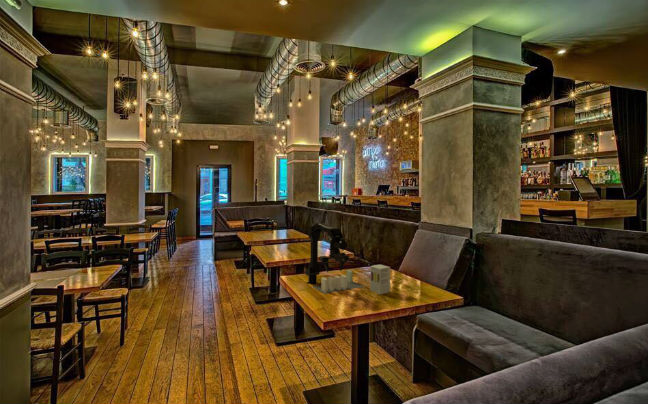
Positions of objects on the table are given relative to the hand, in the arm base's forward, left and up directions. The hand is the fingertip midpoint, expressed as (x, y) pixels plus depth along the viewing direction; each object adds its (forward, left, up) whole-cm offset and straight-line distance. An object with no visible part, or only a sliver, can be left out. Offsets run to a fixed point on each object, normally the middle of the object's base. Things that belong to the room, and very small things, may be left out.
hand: (334, 271), depth 221 cm
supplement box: (+11, +29, -15) cm, 34 cm away
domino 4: (-6, +12, -14) cm, 19 cm away
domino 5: (-16, +23, -14) cm, 31 cm away
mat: (-10, +10, -14) cm, 20 cm away
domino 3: (-6, +7, -14) cm, 16 cm away
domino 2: (-6, +2, -14) cm, 15 cm away
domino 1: (-6, -3, -14) cm, 15 cm away
